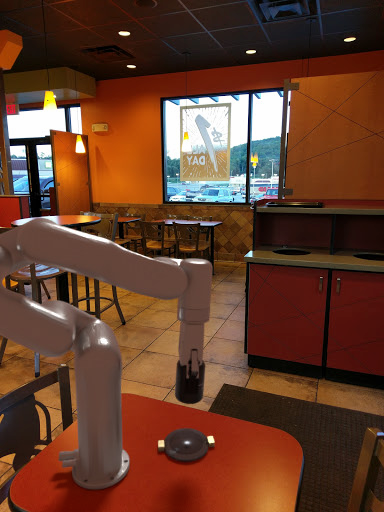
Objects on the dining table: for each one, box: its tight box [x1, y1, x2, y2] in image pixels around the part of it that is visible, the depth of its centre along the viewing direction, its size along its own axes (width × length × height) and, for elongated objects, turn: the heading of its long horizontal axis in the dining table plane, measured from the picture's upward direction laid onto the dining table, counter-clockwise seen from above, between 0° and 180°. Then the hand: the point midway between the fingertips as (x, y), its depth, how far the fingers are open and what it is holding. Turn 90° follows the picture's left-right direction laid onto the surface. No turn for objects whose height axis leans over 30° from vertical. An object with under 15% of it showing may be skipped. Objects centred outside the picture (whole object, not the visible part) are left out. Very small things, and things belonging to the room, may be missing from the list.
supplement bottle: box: [174, 359, 206, 405], centre depth 85 cm, size 7×7×12 cm
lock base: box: [157, 427, 216, 463], centre depth 89 cm, size 14×11×1 cm
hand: (189, 384), depth 85 cm, fingers closed on supplement bottle, 6 cm apart
